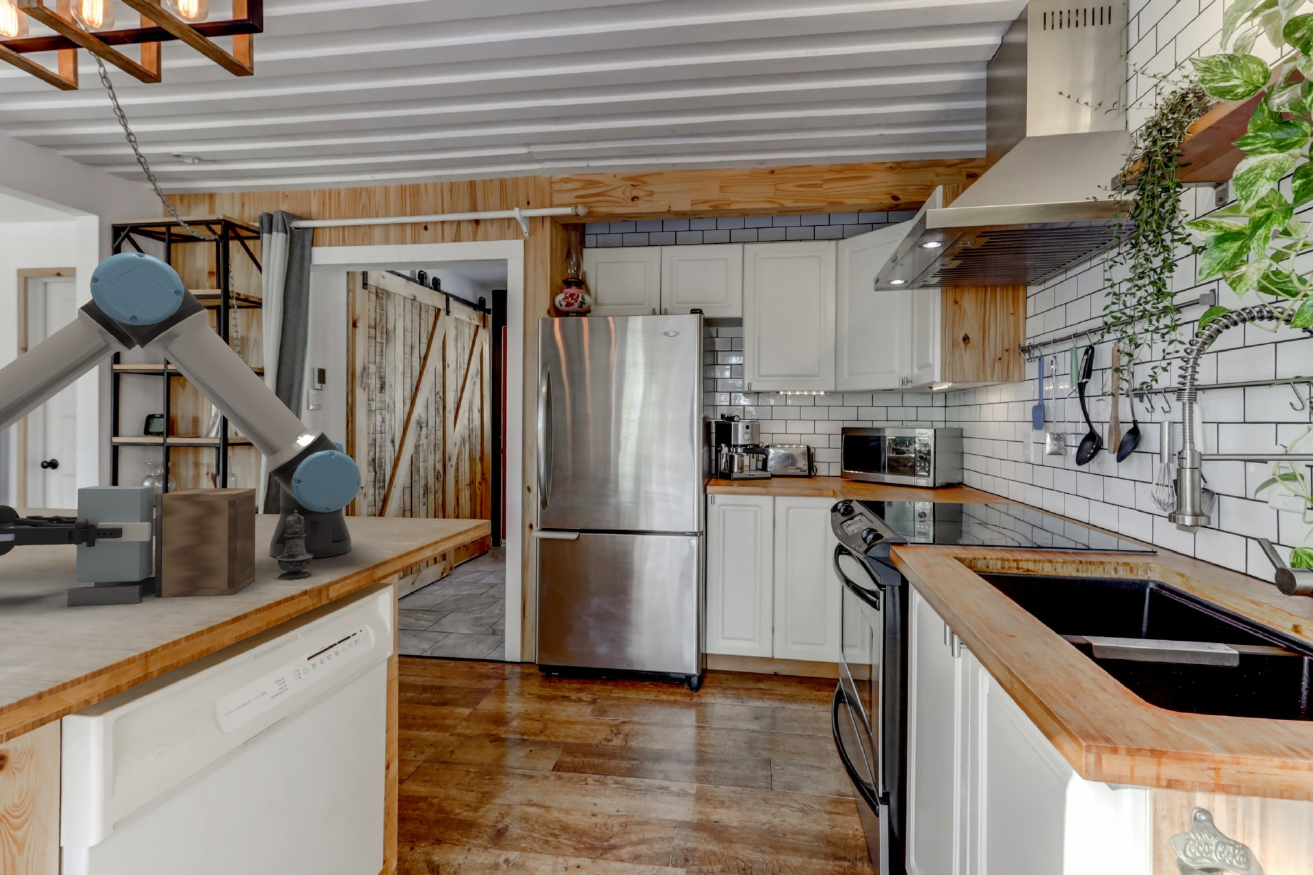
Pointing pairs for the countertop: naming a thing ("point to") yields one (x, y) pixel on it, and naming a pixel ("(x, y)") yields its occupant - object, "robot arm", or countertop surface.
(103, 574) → the door
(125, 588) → the hinge bracket
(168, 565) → the cabinet
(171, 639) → the countertop surface
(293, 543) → the salt shaker
